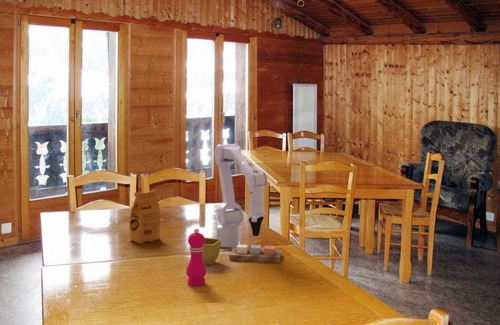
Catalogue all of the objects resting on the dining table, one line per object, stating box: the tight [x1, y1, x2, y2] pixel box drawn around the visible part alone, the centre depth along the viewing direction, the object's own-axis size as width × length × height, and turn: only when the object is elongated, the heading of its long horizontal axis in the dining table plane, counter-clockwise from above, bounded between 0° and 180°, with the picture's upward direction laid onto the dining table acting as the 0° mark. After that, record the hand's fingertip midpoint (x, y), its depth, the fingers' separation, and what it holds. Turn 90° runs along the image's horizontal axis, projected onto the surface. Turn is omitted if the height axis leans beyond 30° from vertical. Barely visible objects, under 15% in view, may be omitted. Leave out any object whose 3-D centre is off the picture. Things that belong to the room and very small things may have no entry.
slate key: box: [249, 244, 262, 254], centre depth 244 cm, size 4×4×3 cm
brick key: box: [263, 245, 276, 255], centre depth 244 cm, size 4×4×3 cm
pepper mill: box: [185, 228, 208, 287], centre depth 212 cm, size 7×7×20 cm
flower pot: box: [202, 237, 221, 266], centre depth 237 cm, size 9×9×9 cm
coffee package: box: [129, 189, 161, 244], centre depth 268 cm, size 10×12×22 cm
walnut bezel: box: [228, 248, 282, 264], centre depth 245 cm, size 20×10×2 cm, turn 83°
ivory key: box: [237, 244, 249, 254], centre depth 245 cm, size 4×4×3 cm
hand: (256, 235), depth 244 cm, fingers closed
